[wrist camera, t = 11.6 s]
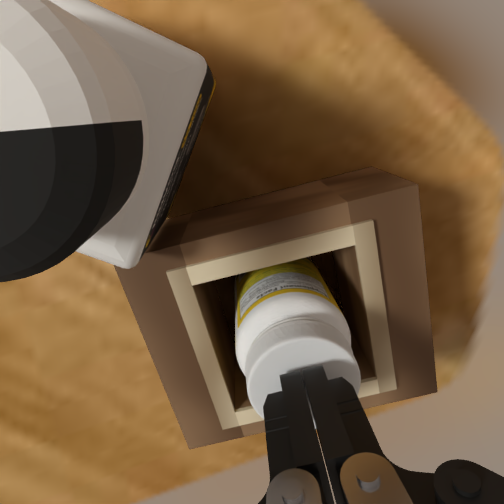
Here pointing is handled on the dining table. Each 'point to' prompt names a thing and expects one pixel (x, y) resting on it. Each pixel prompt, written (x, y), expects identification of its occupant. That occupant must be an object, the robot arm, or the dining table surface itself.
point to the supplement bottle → (289, 328)
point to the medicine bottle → (90, 132)
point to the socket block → (276, 252)
